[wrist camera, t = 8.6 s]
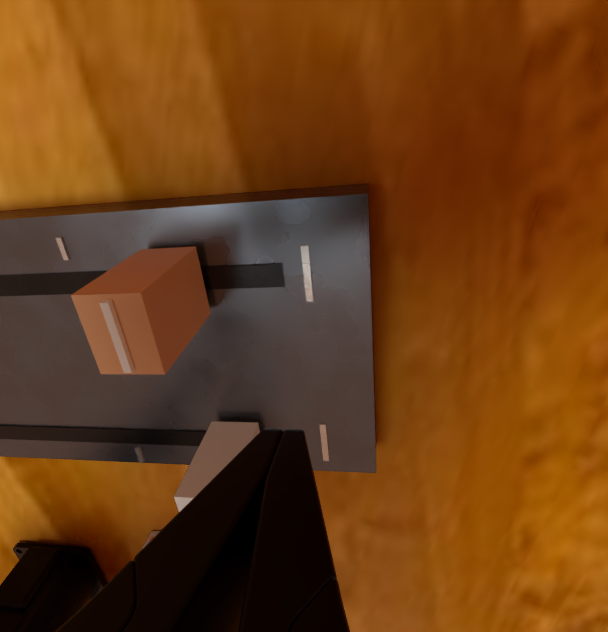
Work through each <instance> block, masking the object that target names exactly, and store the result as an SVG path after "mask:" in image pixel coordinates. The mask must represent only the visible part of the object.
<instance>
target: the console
mask: <svg viewBox="0 0 608 632" xmlns="http://www.w3.org/2000/svg"><path fill="white" fill-rule="evenodd" d="M195 246H196V249H197V254H198V258H199V263H200V267H201V272H202V276H203V281H204V285H205V290H206V294H207V299H208V303H209V308H210V312H211V314H210V315H209V317H208V318H207V319H206V321H205V322H204V323H203V325H202V326H201V327H200V329H199V330H198V331H197V333H196V334H195V335H194V337H193V338H192V339H191V341H190V342H189V343H188V345H187V346H186V347H185V349H184V350H183V351H182V353H181V354H180V355H179V357H178V358H177V359H176V361H175V362H174V363H173V365H172V366H171V367H170V369H169V370H168V371H167V373H166V374H165V375H159V374H101V373H100V371H99V368H98V365H97V363H96V360H95V358H94V355H93V352H92V350H91V347H90V344H89V342H88V339H87V337H86V334H85V331H84V329H83V326H82V323H81V321H80V318H79V316H78V313H77V310H76V308H75V305H74V303H73V300H72V297H71V295H72V294H74V293H75V292H77V291H78V290H80V289H81V288H83V287H84V286H86V285H87V284H89V283H90V282H92V281H93V280H95V279H96V278H98V277H99V276H101V275H102V274H104V273H105V272H107V271H108V270H110V269H112V268H113V267H115V266H116V265H118V264H119V263H121V262H122V261H124V260H125V259H127V258H128V257H130V256H131V255H133V254H134V253H136V252H137V251H139V250H140V249H157V248H176V247H195ZM212 421H215V422H256V423H258V425H259V430H260V431H261V430H263V429H265V428H276V429H282V430H283V431H284V430H285V429H302V430H304V432H305V436H306V441H307V445H308V450H309V454H310V459H311V464H312V468H313V470H321V471H343V472H365V473H376V423H375V389H374V355H373V321H372V286H371V252H370V218H369V184H356V185H343V186H329V187H316V188H303V189H289V190H276V191H263V192H249V193H236V194H223V195H209V196H196V197H183V198H170V199H156V200H143V201H130V202H116V203H103V204H90V205H76V206H63V207H50V208H36V209H23V210H10V211H0V456H6V457H29V458H51V459H73V460H96V461H118V462H140V463H163V464H186V465H190V464H191V462H192V460H193V458H194V456H195V454H196V452H197V450H198V448H199V446H200V444H201V442H202V440H203V438H204V436H205V434H206V432H207V430H208V428H209V426H210V424H211V422H212Z"/></svg>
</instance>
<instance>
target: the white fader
mask: <svg viewBox="0 0 608 632" xmlns="http://www.w3.org/2000/svg"><path fill="white" fill-rule="evenodd" d="M259 432H260V430H259V425H258V423H256V422H215V421H212V422H211V424H210V426H209V428H208V430H207V432H206V434H205V436H204V438H203V440H202V442H201V444H200V446H199V448H198V450H197V452H196V454H195V456H194V458H193V460H192V462H191V464H190V466H189V468H188V470H187V472H186V474H185V476H184V478H183V480H182V482H181V484H180V486H179V488H178V490H177V492H176V494H175V496H174V499H175V502H176V505H177V507H178V510H179V512H180V511H181V510H182V509H183V508H184V507H185V506H186V505H187V504H188V503H189V502H190V501H191V500H192V499H193V498H194V497H195V496H196V495H197V494H198V493H199V492H200V491H201V490H202V489H203V488H204V487H205V486H206V485H207V484H208V483H209V482H210V481H211V480H212V479H213V478H214V477H215V476H216V475H217V474H218V473H219V472H220V471H221V470H222V469H223V468H224V467H225V466H226V465H227V464H228V463H229V462H230V461H231V460H232V459H233V458H234V457H235V456H236V455H237V454H238V453H239V452H240V451H241V450H242V449H243V448H244V447H245V446H246V445H247V444H248V443H249V442H250V441H251V440H252V439H253V438H254V437H255V436H256V435H257V434H258V433H259Z"/></svg>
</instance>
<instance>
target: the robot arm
mask: <svg viewBox="0 0 608 632" xmlns="http://www.w3.org/2000/svg"><path fill="white" fill-rule="evenodd" d="M13 551H14V552H15V554H16V555H17V557H18V559H19V562H18V563H17V564H16V566H15V567H14V568H13V569H12V571H11V572H10V573H9V575H8V576H7V577H6V579H5V580H4V581H3V583H2V584H1V585H0V632H350V630H349V626H348V622H347V618H346V614H345V610H344V606H343V602H342V598H341V593H340V589H339V584H338V581H337V577H336V572H335V567H334V563H333V558H332V554H331V549H330V545H329V540H328V536H327V531H326V527H325V522H324V518H323V513H322V509H321V504H320V500H319V495H318V491H317V486H316V482H315V477H314V473H313V468H312V464H311V459H310V454H309V450H308V445H307V441H306V436H305V432H304V430H302V429H285V430H284V431H283V430H282V429H276V428H265V429H263V430H261V431H260V432H259V433H258V434H257V435H256V436H255V437H254V438H253V439H252V440H251V441H250V442H249V443H248V444H247V445H246V446H245V447H244V448H243V449H242V450H241V451H240V452H239V453H238V454H237V455H236V456H235V457H234V458H233V459H232V460H231V461H230V462H229V463H228V464H227V465H226V466H225V467H224V468H223V469H222V470H221V471H220V472H219V473H218V474H217V475H216V476H215V477H214V478H213V479H212V480H211V481H210V482H209V483H208V484H207V485H206V486H205V487H204V488H203V489H202V490H201V491H200V492H199V493H198V494H197V495H196V496H195V497H194V498H193V499H192V500H191V501H190V502H189V503H188V504H187V505H186V506H185V507H184V508H183V509H182V510H181V511H180V512H179V513H178V514H177V515H176V516H175V517H174V518H173V519H172V520H171V521H170V522H169V523H168V524H167V525H166V526H165V527H164V528H163V529H162V530H161V531H160V532H159V533H158V534H157V535H156V536H155V537H154V538H153V539H152V540H151V541H150V542H149V543H148V544H147V545H146V546H145V547H144V548H143V549H142V550H141V551H140V552H139V553H138V554H137V555H136V556H135V558H134V561H130V562H129V563H128V564H127V565H126V566H125V567H124V568H123V569H122V570H121V571H120V572H119V573H118V574H117V575H116V576H115V577H114V578H113V579H112V580H111V581H110V582H109V583H108V584H107V583H106V581H105V579H104V577H103V575H102V573H101V571H100V569H99V567H98V565H97V564H96V562H95V560H94V558H93V556H92V554H91V552H90V551H89V550H88V549H86V548H80V547H68V546H56V545H45V544H33V543H21V542H19V543H17V544H16V545H15V547H14V548H13Z"/></svg>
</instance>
